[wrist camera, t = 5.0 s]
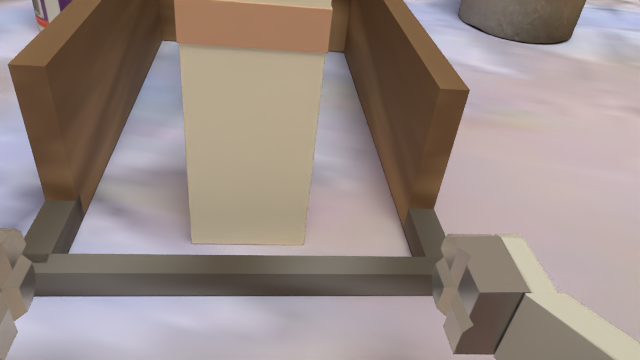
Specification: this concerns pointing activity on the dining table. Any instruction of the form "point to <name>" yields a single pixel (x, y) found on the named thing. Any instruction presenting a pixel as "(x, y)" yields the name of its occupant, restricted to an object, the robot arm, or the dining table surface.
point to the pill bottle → (48, 10)
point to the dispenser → (118, 99)
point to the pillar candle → (524, 18)
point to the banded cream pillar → (251, 115)
